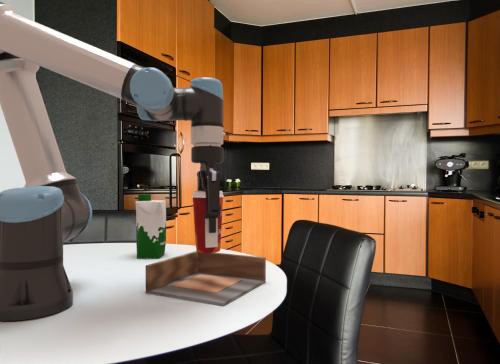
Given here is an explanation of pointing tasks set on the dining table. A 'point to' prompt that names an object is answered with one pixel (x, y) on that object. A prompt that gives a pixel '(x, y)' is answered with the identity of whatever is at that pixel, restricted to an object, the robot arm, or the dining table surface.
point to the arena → (206, 277)
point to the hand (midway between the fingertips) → (208, 244)
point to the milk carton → (150, 227)
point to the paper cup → (199, 222)
